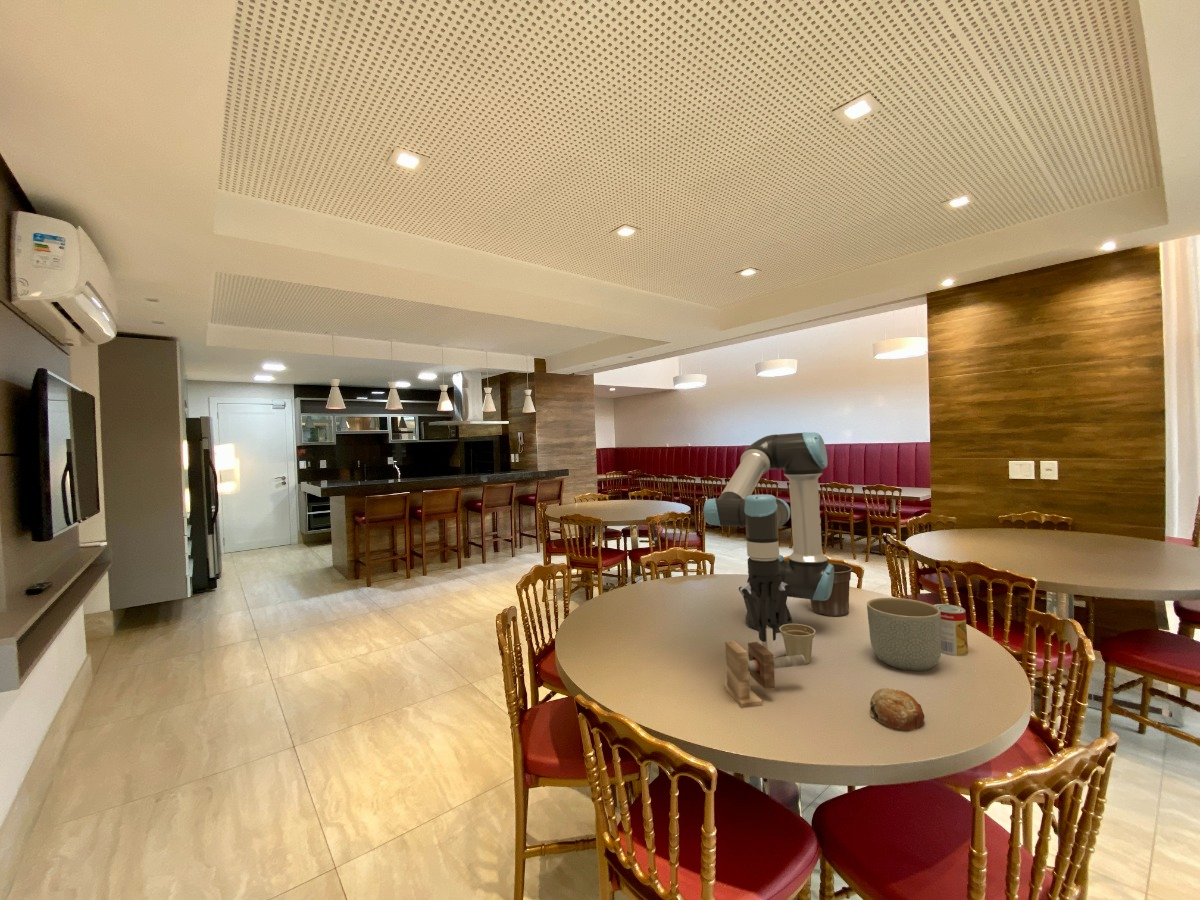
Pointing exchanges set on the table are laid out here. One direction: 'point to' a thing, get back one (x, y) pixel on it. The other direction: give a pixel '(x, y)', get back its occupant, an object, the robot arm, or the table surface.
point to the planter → (905, 632)
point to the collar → (762, 665)
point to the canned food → (953, 630)
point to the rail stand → (740, 676)
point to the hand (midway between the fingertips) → (768, 653)
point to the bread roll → (896, 710)
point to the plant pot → (836, 593)
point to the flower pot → (798, 640)
